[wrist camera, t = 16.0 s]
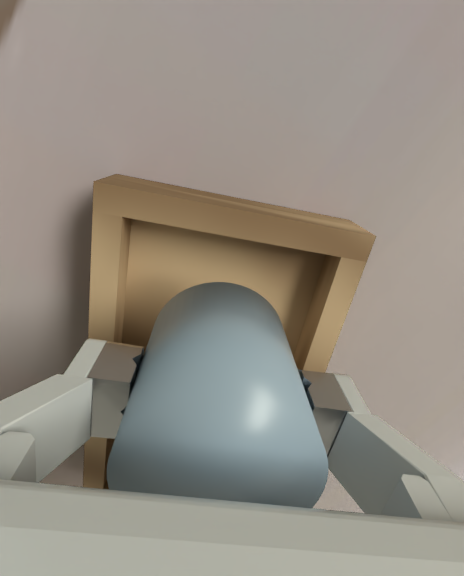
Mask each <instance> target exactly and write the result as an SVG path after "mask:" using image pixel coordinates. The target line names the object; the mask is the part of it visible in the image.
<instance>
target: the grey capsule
mask: <svg viewBox="0 0 464 576" xmlns="http://www.w3.org/2000/svg"><path fill="white" fill-rule="evenodd" d="M327 477H328V459H327V454H326V450H325V447H324V444H323V441H322V439H321V436H320V433H319V430H318V427H317V424H316V421H315V418H314V415H313V412H312V410H311V407H310V404H309V401H308V398H307V395H306V392H305V389H304V386H303V384H302V381H301V378H300V375H299V372H298V369H297V366H296V363H295V360H294V357H293V355H292V352H291V349H290V346H289V343H288V340H287V337H286V334H285V331H284V329H283V326H282V323H281V320H280V318H279V315H278V314H277V312H276V310H275V309H274V308H273V306H272V305H271V304H270V303H269V302H268V301H267V300H266V299H265V298H264V297H263V296H261V295H260V294H258V293H257V292H255V291H253V290H251V289H249V288H247V287H244V286H242V285H238V284H234V283H227V282H210V283H203V284H199V285H195V286H193V287H190V288H188V289H186V290H184V291H182V292H180V293H178V294H177V295H176V296H174V297H173V298H172V299H171V300H170V301H169V302H168V303H167V304H166V305H165V306H164V307H163V308H162V310H161V311H160V313H159V315H158V317H157V319H156V321H155V324H154V327H153V330H152V333H151V336H150V338H149V341H148V344H147V347H146V350H145V353H144V356H143V359H142V362H141V365H140V368H139V371H138V374H137V376H136V379H135V383H134V386H133V388H132V391H131V394H130V397H129V400H128V403H127V406H126V409H125V412H124V415H123V417H122V420H121V423H120V426H119V429H118V432H117V435H116V438H115V441H114V444H113V447H112V450H111V453H110V455H109V458H108V464H107V482H108V487H109V489H110V490H120V491H131V492H142V493H152V494H163V495H174V496H185V497H195V498H206V499H217V500H228V501H238V502H249V503H260V504H271V505H281V506H292V507H303V508H312V507H313V506H314V505H315V504H316V502H317V501H318V500H319V498H320V496H321V494H322V492H323V490H324V488H325V485H326V482H327Z"/></svg>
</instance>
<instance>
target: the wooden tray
mask: <svg viewBox="0 0 464 576" xmlns="http://www.w3.org/2000/svg"><path fill="white" fill-rule="evenodd" d="M375 238H376V236H375V235H373V234H371V233H370V232H368V231H367V230H365V229H363V228H362V227H360V226H358V225H357V224H355V223H353V222H352V221H350V220H346V219H341V218H336V217H331V216H326V215H321V214H316V213H311V212H306V211H301V210H296V209H291V208H286V207H280V206H275V205H270V204H265V203H260V202H255V201H250V200H245V199H240V198H235V197H230V196H225V195H220V194H215V193H210V192H205V191H200V190H195V189H190V188H185V187H180V186H175V185H169V184H164V183H159V182H154V181H149V180H144V179H139V178H134V177H129V176H124V175H119V174H115V175H112V176H109V177H106V178H103V179H100V180H97V181H94V185H93V214H92V242H91V271H90V300H89V328H88V339H89V338H91V339H98V340H105V341H107V342H108V341H111V342H117V343H123V344H130V345H136V346H142V347H144V353H145V350H146V347H147V344H148V341H149V338H150V336H151V333H152V330H153V327H154V324H155V321H156V319H157V317H158V315H159V313H160V311H161V310H162V308H163V307H164V306H165V305H166V304H167V303H168V302H169V301H170V300H171V299H172V298H173V297H174V296H176V295H177V294H178V293H180V292H182V291H184V290H186V289H188V288H190V287H193V286H195V285H199V284H203V283H210V282H227V283H234V284H238V285H242V286H244V287H247V288H249V289H251V290H253V291H255V292H257V293H258V294H260V295H261V296H263V297H264V298H265V299H266V300H267V301H268V302H269V303H270V304H271V305H272V306H273V308H274V309H275V310H276V312H277V314H278V315H279V318H280V320H281V323H282V326H283V329H284V331H285V334H286V337H287V340H288V343H289V346H290V349H291V352H292V355H293V357H294V360H295V363H296V366H297V369H301V370H308V371H316V372H324V373H325V371H326V369H327V366H328V363H329V361H330V358H331V355H332V353H333V350H334V347H335V345H336V342H337V339H338V337H339V334H340V331H341V329H342V326H343V323H344V321H345V318H346V315H347V313H348V310H349V307H350V305H351V302H352V299H353V297H354V294H355V291H356V289H357V286H358V283H359V281H360V278H361V275H362V273H363V270H364V267H365V265H366V262H367V259H368V257H369V254H370V251H371V249H372V246H373V243H374V241H375ZM114 441H115V439H112V438H100V437H90V439H89V440H88V441H87V442H85V443H84V471H83V487H88V488H99V489H109V487H108V482H107V464H108V458H109V455H110V453H111V450H112V447H113V444H114Z"/></svg>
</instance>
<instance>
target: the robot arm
mask: <svg viewBox="0 0 464 576" xmlns="http://www.w3.org/2000/svg"><path fill="white" fill-rule="evenodd" d="M143 356H144V347H142V346H136V345H130V344H123V343H117V342H111V341H108V342H107V341H105V340H98V339H91V338H89V339H87V340H86V341H85V342H84V344H83V345H82V347H81V348H80V350H79V351H78V353H77V354H76V356H75V357H74V359H73V360H72V362H71V363H70V365H69V366H68V368H67V369H66V371H65V373H64V374H63V375H61V374H56V375H54V376H52V377H50V378H48V379H46V380H44V381H41V382H39V383H37V384H35V385H33V386H31V387H29V388H27V389H24V390H22V391H20V392H18V393H16V394H14V395H12V396H10V397H8V398H5V399H3V400H1V401H0V576H464V482H463V481H462V480H461V479H460V478H459V477H458V476H456V475H455V474H454V473H452V472H451V471H450V470H448V469H447V468H446V467H444V466H443V465H442V464H440V463H439V462H438V461H436V460H435V459H434V458H432V457H431V456H430V455H428V454H427V453H426V452H425V451H423V450H422V449H421V448H419V447H418V446H417V445H415V444H414V443H413V442H411V441H410V440H409V439H407V438H406V437H405V436H403V435H402V434H401V433H399V432H398V431H397V430H395V429H394V428H393V427H391V426H390V425H389V424H387V423H386V422H385V421H384V420H382V419H381V418H380V417H378V416H377V415H372V414H371V413H370V411H369V409H368V407H367V406H366V404H365V402H364V400H363V399H362V397H361V395H360V393H359V391H358V390H357V388H356V386H355V384H354V383H353V381H352V379H351V377H349V376H348V375H345V374H336V373H324V372H316V371H308V370H301V369H298V372H299V375H300V378H301V381H302V384H303V386H304V389H305V392H306V395H307V398H308V401H309V404H310V407H311V410H312V412H313V415H314V418H315V421H316V424H317V427H318V430H319V433H320V436H321V439H322V441H323V444H324V447H325V450H326V454H327V459H328V468H329V470H330V471H331V472H332V473H333V475H334V476H335V477H336V478H337V480H338V481H339V482H340V483H341V484H342V486H343V487H344V488H345V489H346V491H347V492H348V493H349V494H350V495H351V497H352V498H353V499H354V500H355V502H356V503H357V504H358V505H359V507H360V508H361V509H362V510H363V511H364V513H355V512H345V511H334V510H324V509H313V508H303V507H292V506H281V505H271V504H260V503H249V502H238V501H228V500H217V499H206V498H195V497H185V496H174V495H163V494H152V493H142V492H131V491H120V490H110V489H99V488H88V487H78V486H67V485H56V484H45V483H39V482H40V481H41V480H42V479H43V478H44V477H46V476H47V475H48V474H49V473H50V472H51V471H53V470H54V469H55V468H56V467H57V466H58V465H60V464H61V463H62V462H63V461H64V460H66V459H67V458H68V457H69V456H70V455H71V454H73V453H74V452H75V451H76V450H77V449H78V448H80V447H81V446H82V445H83V444H84V443H85V442H87V441H88V440H89V439H90V437H100V438H112V439H115V438H116V435H117V432H118V429H119V426H120V423H121V420H122V417H123V415H124V412H125V409H126V406H127V403H128V400H129V397H130V394H131V391H132V388H133V386H134V383H135V379H136V376H137V374H138V371H139V368H140V365H141V362H142V359H143Z"/></svg>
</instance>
